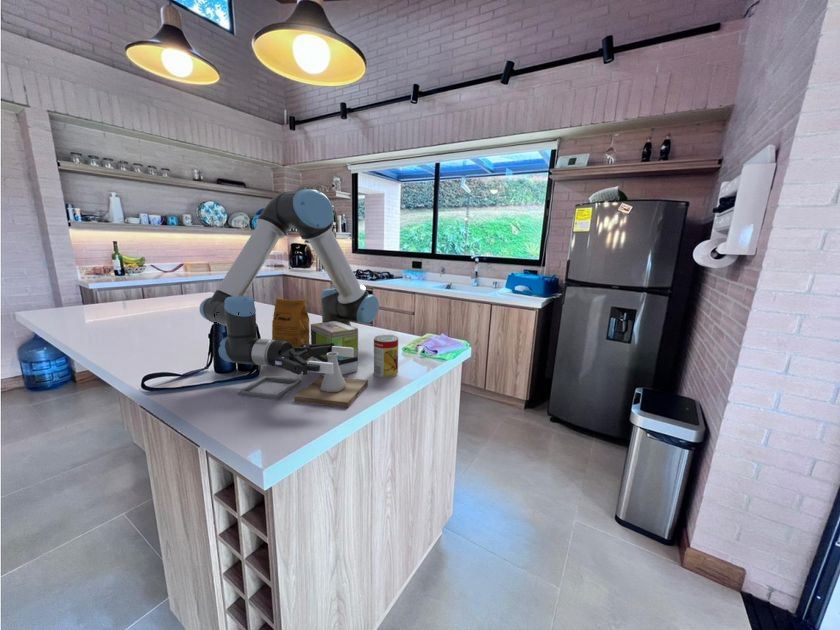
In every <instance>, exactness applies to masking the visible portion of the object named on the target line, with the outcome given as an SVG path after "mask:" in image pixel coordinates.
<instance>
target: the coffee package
mask: <svg viewBox="0 0 840 630" xmlns="http://www.w3.org/2000/svg"><path fill="white" fill-rule="evenodd" d="M272 317H273V318H272V322H271V323H272V325H271V327H272V328H271V333H272V334H271V336H272V337H271V340H279V341H288V342H289V343H290V344H291V345H292V347H293V348H294V347H301V346H300V345H301V344H308V345H310V344H311V343H310V339H311V335H310V334H311V330H310V316H309V312H308V309H307V306H306V300H305V299H290V300H289V299H284V298H280V297H276V300H275V304H274V311H273V316H272ZM303 360H305V359H303Z"/></svg>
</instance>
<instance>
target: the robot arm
mask: <svg viewBox="0 0 840 630" xmlns="http://www.w3.org/2000/svg"><path fill="white" fill-rule="evenodd" d="M333 214H334V207H333V204H332V203H331V201H330V199H329V198H328V197H327V195H326V194H324V193H323V192H321V191H319V190H317V189H308V188H305V189H300V190H299V189H298V190H293V191H292V190H291V191H283V192H280V193H278V194H277V195H275V196H274V197H272V199H271V200H270V201H268V203H267V204H266V206H264V209H263V210H262V211H261V213H259V216H258V217H257V219H256V221H255V223H256V227H255V229H254V230H253V231H252V233H251V235H250V237H248V240H247V241H246V243H245V244H244V246H243V248H242V249H241V251H240V252H239V253H238V255H237V257H236V259H235V260H234V262H233V263H232V265H231V267H230V268H229V270H228V271H227V273H226V274H225V276H224V278H223V279H222V281H221V282H220V284H219V285H218V287H217V288H216V290H215V292H214V293H213V295H212V296H210V297H207V298H205V299H203V300H202V301H201V303H200V305H199V313H200V315H201V317H203V318H204V319H205V320H207V321H208V322H211V323H213V324H215V323H214V322H217V323H216V324H218V323H219V325H221V326H225V327H226V334H227V336H226V337H224V338H222V340H221V341H220V343H219V347H218V355H219V357H220V358H221V359H222V360H223V361H225V362H228V363H230V362H231V363H235V364H246V365H255V366H263V367H264V368H267V367H272V368H273V367H274V368H279V369H283V370H285V371H288V372H290V373H293V374H295V375H299V376H301V375H303V376H307V375H309V372H310V373H318V374H325V373H327V374H333V373H334V371H333V363H328V362H318V361H312V360H310V359H312V357H313V356H321V355H327V353H329V352H337V353H338V356H343V357H354V348H350V347H338V346H334V343H331V344H311V343H309V344H310V345H308V344H301V345H300V346H301V347H294V348H293V347H292V345H291V344H290V343H289V342H288V341H279V340H272V339H267V338H258V335H257V333H258V331H257V313H256V312H257V309H256V306H255V299H254V298H253V297H252V296H249V295H246V294H247V292H248V290H249V289H250V287H251V286H252V284H253V282H254V280H255V279H256V278H257V276H258V274H259V273H260V271H261V269H262V268H263V266H264V265H265V263H266V261H267V259H268V258H269V256H270V255H271V253H272V251H273V250H274V248H275V246H276V245H277V243H278V242H279V240H280V239H285V236H286V234H287V233H288V232H289V231H290V230H292V229H295V230H296V232H297V233H298V235H299V236H300V238H301V239H302V240H303V241H306V242H308V243H309V244H310V246H311V248H312V249H313V252H314V253H315V254H316V257H317V259H318V260H319V262H320V263H321V265H322V267H323V269H324V271H325V272H326V273H327V276H328V277H329V279H330V280H331V283H332V284H333V286H334V288H325V289H323V290H322V292H321V298H320V300H321V318H322V319H321V321H322V322H321V323H323V322H331V321H337V322H341V323H344V324H346V325H349V326H352V324H351V322H354V323H359V324H370V323H372V322H374V320H375V319H376V317H377V315H378V313H379V310H380V302H379V299H378V297H377V296H375V295H374V294H369V291H368V290H367V288H366V286H365V285H364V284H362V283H359V280H358V279H357V277H356V275H355V273H354V271H353V269H352V267H351V265H350V263H349V261H348V259H347V258H346V256H345V253H344V252H343V249H342V247H341V246H340V243H339V242H338V240H337V238H336V236H335V233H334V232H333V227H334V222H333V219H334V215H333ZM216 312H220V313H217V315H216V314H215V317H214V313H216ZM226 312H227V313H226ZM238 312H240V313H239V315H238ZM250 312H251V313H252V314H251V313H250ZM303 359H304V360H303ZM306 360H309V361H306Z"/></svg>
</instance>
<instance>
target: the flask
mask: <svg viewBox="0 0 840 630" xmlns="http://www.w3.org/2000/svg"><path fill="white" fill-rule="evenodd" d="M337 356H338V353H337V352H329V353H327V357H328V363H333V371H334V373H333V374H327V373H324V378H323V381H322V384H321V388H320V390H322V391H326V392H339V391H341V390H343V389H344V388H346V382H345V380H344V378H345V377H344V374H343V375H342V373H341V370H340V368H339V365H338V360H337Z"/></svg>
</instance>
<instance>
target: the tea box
mask: <svg viewBox="0 0 840 630" xmlns="http://www.w3.org/2000/svg"><path fill="white" fill-rule="evenodd" d="M331 343H334V346H338V347H350V348H354V357H343V356H337V360H338V365H339V368H340V370H341V373H342V375H343V376H344V375H346V374H349V373H353V372H358V370H359V329H358V327H355V326H353V325H351V326H349V325H346V324H344V323H341V322H337V321H331V322H323V323H322V322H317V323H310V344H331ZM311 361H318V362H328V357H327V355H321V356H313V357H311Z"/></svg>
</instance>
